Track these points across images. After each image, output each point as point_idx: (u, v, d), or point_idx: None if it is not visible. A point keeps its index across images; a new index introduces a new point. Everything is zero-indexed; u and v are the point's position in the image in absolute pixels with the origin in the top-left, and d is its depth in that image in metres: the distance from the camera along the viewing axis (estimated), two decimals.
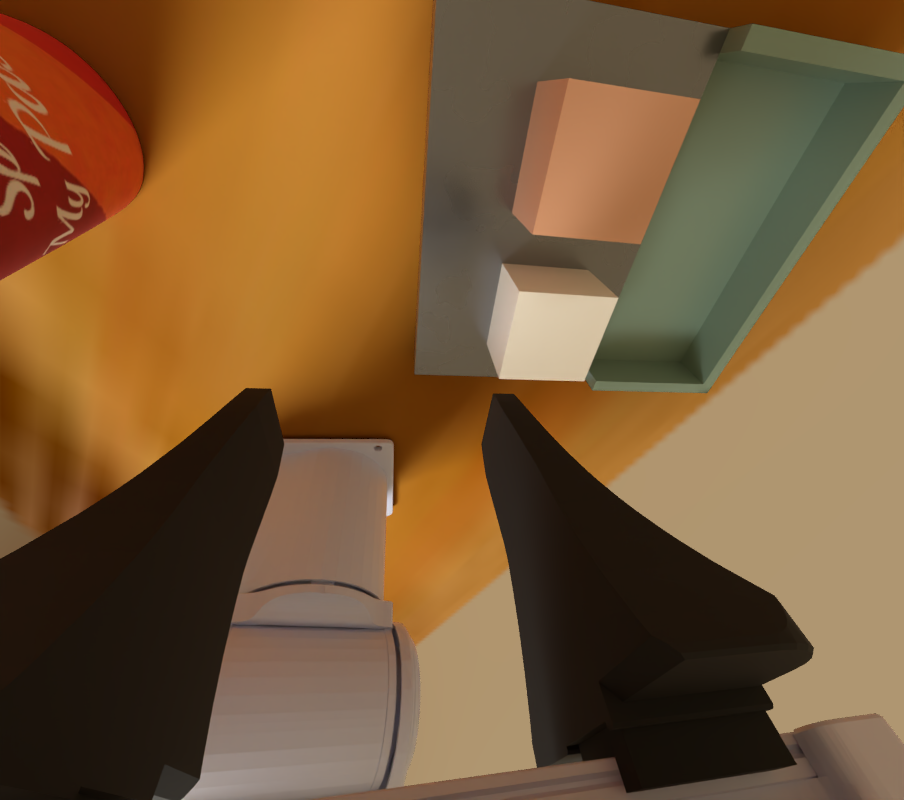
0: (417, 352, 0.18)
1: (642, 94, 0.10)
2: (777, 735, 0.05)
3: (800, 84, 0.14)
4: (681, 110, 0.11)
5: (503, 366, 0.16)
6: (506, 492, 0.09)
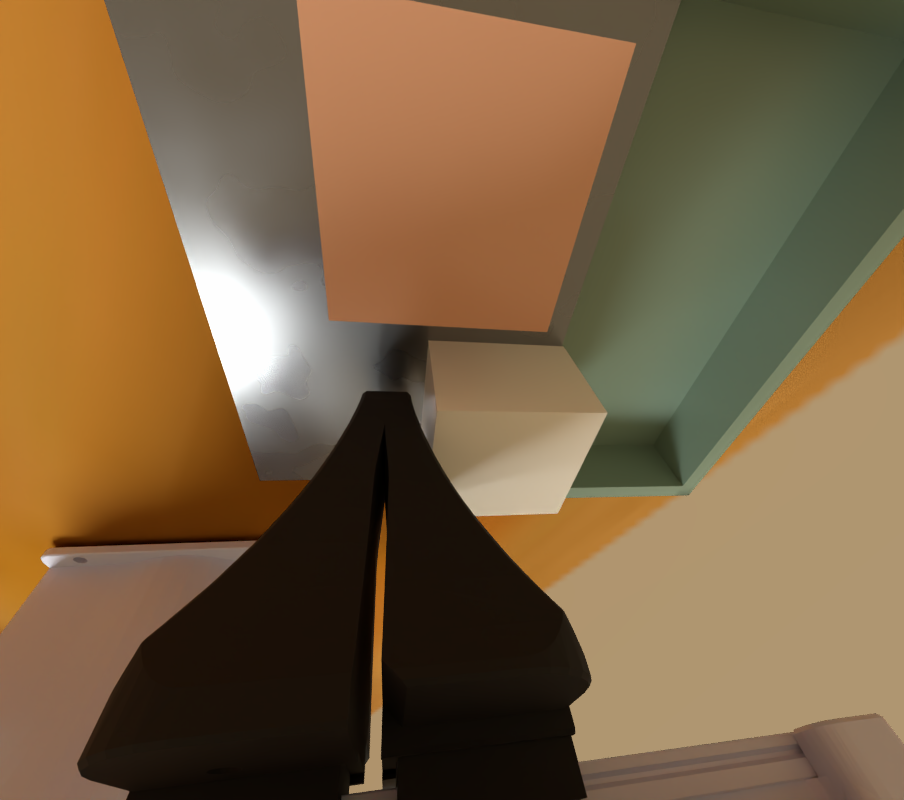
0: (254, 454, 0.12)
1: (495, 28, 0.04)
2: (576, 763, 0.05)
3: (837, 44, 0.08)
4: (594, 70, 0.05)
5: None
6: (386, 494, 0.09)
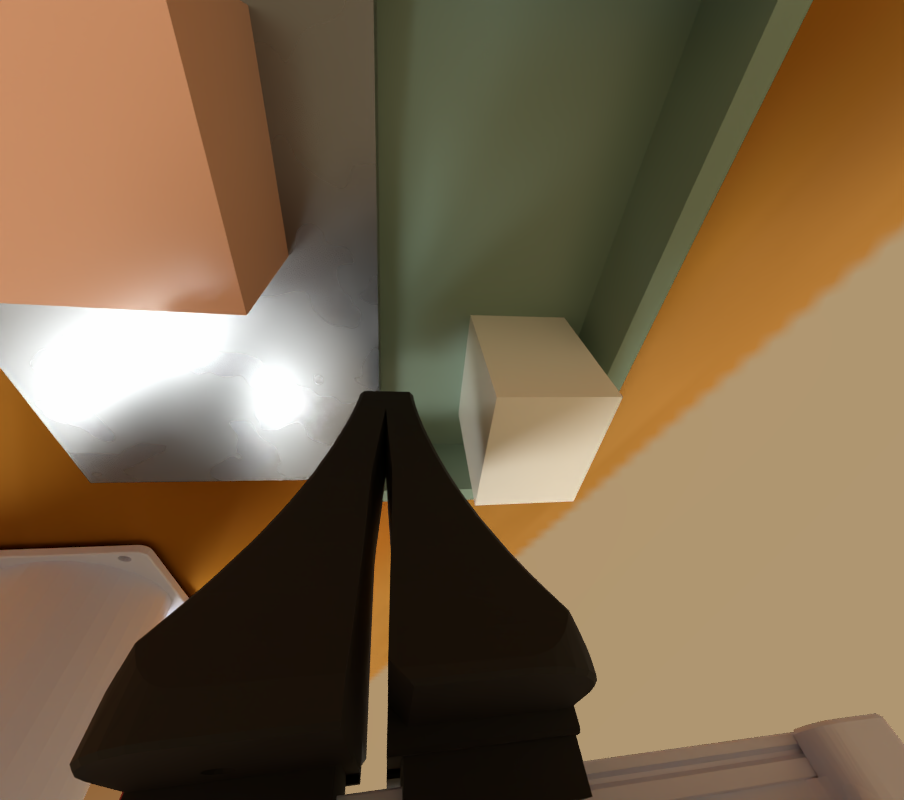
0: (72, 455, 0.11)
1: None
2: (580, 763, 0.05)
3: None
4: None
5: (579, 485, 0.11)
6: (389, 495, 0.09)
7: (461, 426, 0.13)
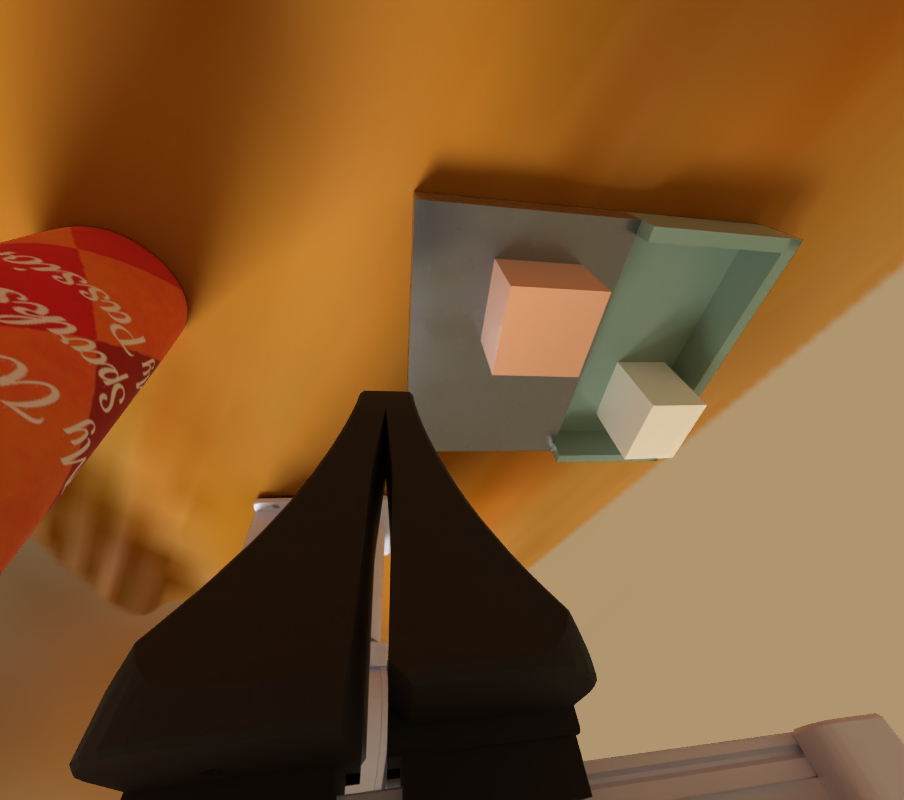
0: None
1: (566, 291, 0.14)
2: (581, 762, 0.05)
3: None
4: (598, 298, 0.14)
5: (676, 448, 0.21)
6: (389, 494, 0.09)
7: (601, 420, 0.23)
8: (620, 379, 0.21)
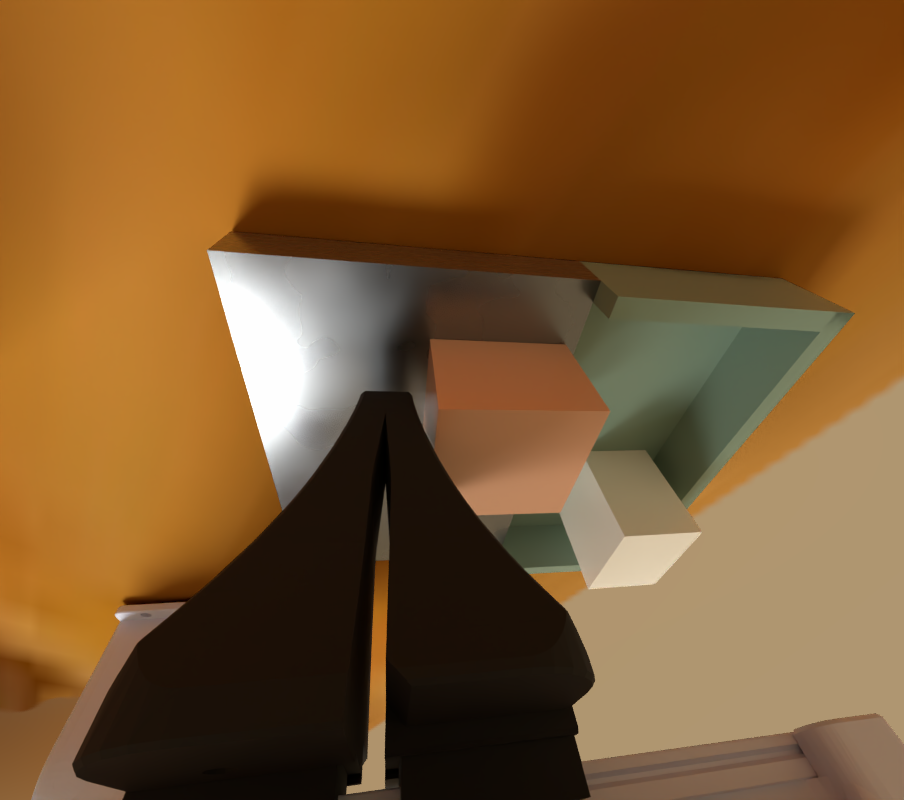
0: None
1: (536, 413, 0.08)
2: (579, 763, 0.05)
3: None
4: (588, 420, 0.09)
5: None
6: (388, 494, 0.09)
7: (563, 519, 0.18)
8: (584, 476, 0.16)
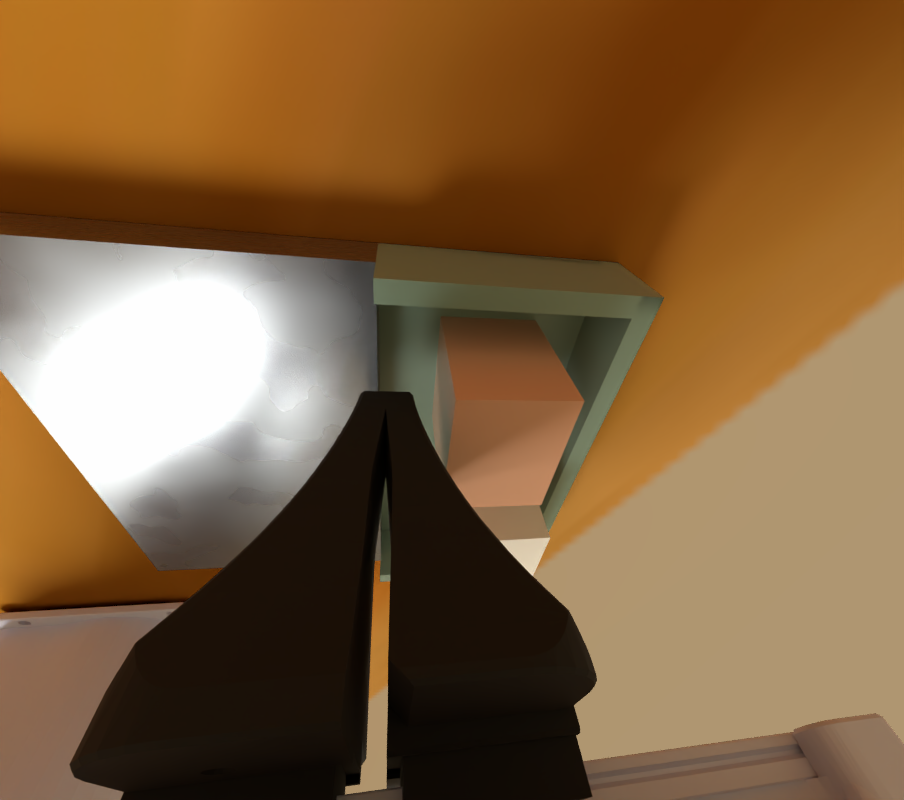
0: (148, 554, 0.15)
1: None
2: (581, 763, 0.05)
3: None
4: None
5: None
6: (389, 494, 0.09)
7: None
8: None
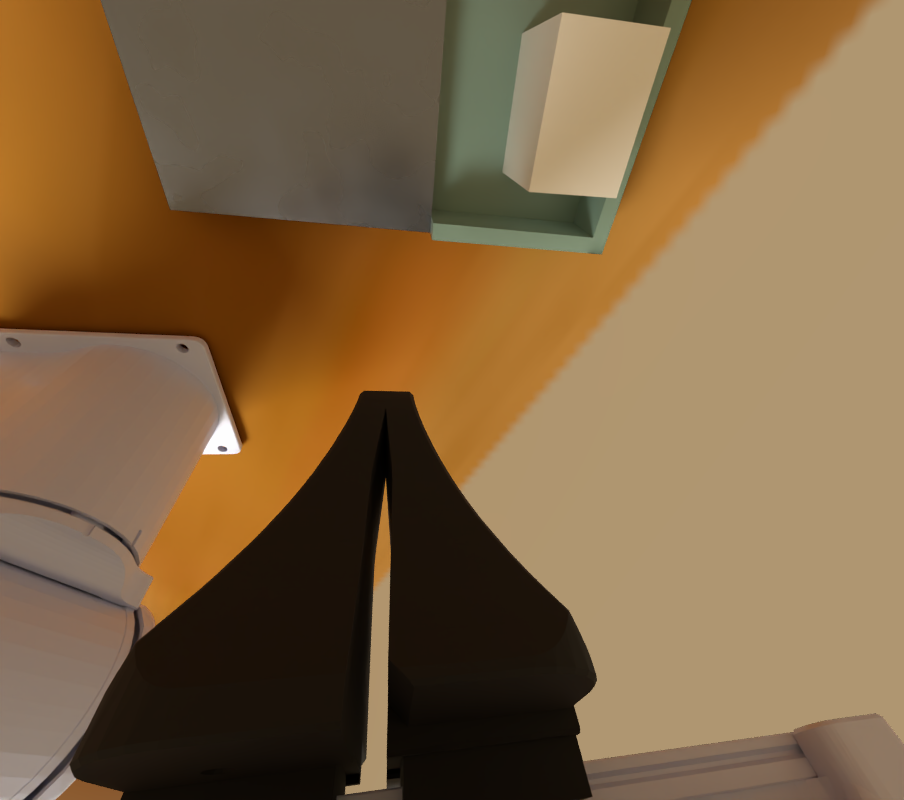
0: (158, 167, 0.13)
1: None
2: (580, 763, 0.05)
3: None
4: None
5: (622, 174, 0.12)
6: (389, 494, 0.09)
7: (507, 171, 0.14)
8: (525, 57, 0.12)
